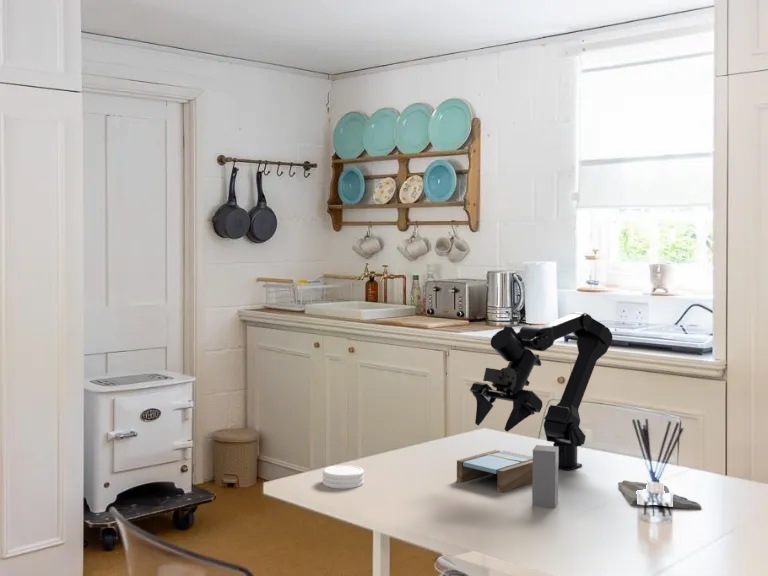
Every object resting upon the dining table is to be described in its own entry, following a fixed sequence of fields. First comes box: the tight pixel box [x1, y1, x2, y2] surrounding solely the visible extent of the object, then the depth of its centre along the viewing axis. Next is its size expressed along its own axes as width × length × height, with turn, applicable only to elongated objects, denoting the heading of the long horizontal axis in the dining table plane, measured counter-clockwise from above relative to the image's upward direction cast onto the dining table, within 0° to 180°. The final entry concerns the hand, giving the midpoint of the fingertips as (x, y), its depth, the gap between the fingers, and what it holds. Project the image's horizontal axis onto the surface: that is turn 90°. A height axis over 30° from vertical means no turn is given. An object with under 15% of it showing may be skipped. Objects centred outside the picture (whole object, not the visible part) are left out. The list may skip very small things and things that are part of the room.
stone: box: [531, 444, 559, 509], centre depth 201 cm, size 5×5×12 cm
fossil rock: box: [617, 479, 702, 510], centre depth 206 cm, size 18×15×2 cm
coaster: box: [321, 464, 365, 490], centre depth 218 cm, size 10×10×4 cm
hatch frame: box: [456, 449, 533, 493], centre depth 220 cm, size 14×16×5 cm
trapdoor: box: [463, 450, 533, 475], centre depth 220 cm, size 10×16×3 cm, turn 135°
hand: (491, 427), depth 213 cm, fingers open, 9 cm apart
